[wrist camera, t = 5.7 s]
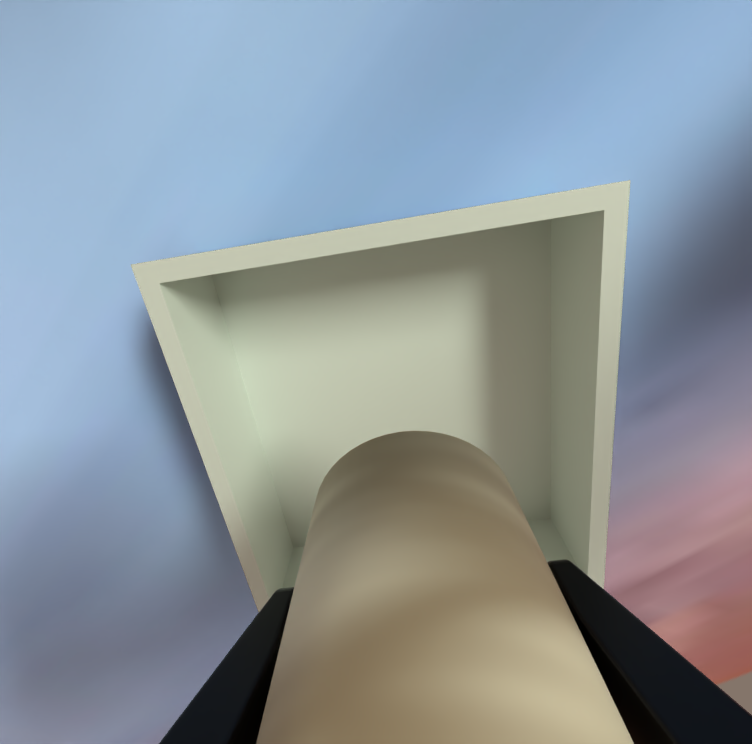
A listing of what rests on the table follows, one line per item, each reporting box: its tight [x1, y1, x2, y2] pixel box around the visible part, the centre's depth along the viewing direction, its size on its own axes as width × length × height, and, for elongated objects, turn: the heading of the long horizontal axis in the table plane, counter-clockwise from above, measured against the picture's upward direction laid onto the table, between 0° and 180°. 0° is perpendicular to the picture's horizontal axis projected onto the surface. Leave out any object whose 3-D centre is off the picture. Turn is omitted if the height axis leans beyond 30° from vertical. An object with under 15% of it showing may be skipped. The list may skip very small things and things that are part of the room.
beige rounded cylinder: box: [256, 431, 634, 744], centre depth 6 cm, size 5×5×8 cm
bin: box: [131, 180, 630, 612], centre depth 15 cm, size 13×14×4 cm
